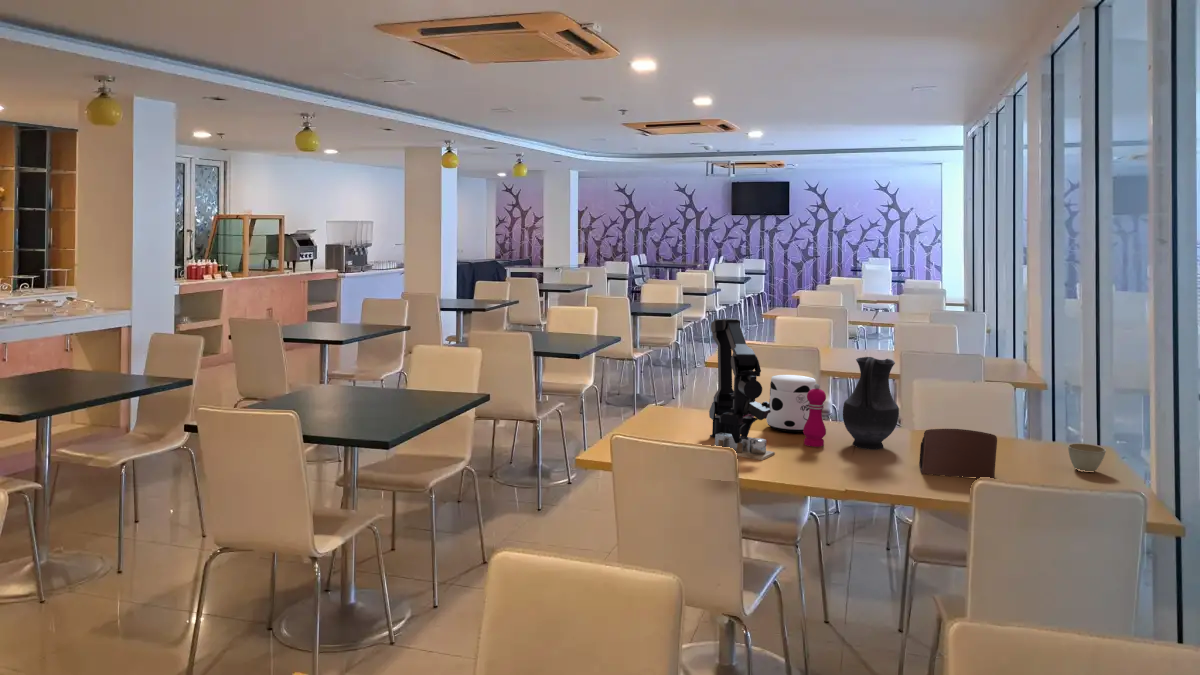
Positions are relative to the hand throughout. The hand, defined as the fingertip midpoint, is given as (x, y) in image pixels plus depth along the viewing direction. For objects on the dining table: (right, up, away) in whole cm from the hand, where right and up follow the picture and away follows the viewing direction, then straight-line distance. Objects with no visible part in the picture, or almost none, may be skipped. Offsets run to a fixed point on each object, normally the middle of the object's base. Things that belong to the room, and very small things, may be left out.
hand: (740, 441), depth 290 cm
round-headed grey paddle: (0, -2, 0) cm, 3 cm away
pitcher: (+43, -3, +11) cm, 44 cm away
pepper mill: (+26, -3, +13) cm, 29 cm away
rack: (0, -3, 0) cm, 3 cm away
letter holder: (+60, -7, -17) cm, 63 cm away
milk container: (+23, 0, +34) cm, 41 cm away
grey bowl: (+101, -8, -12) cm, 102 cm away
